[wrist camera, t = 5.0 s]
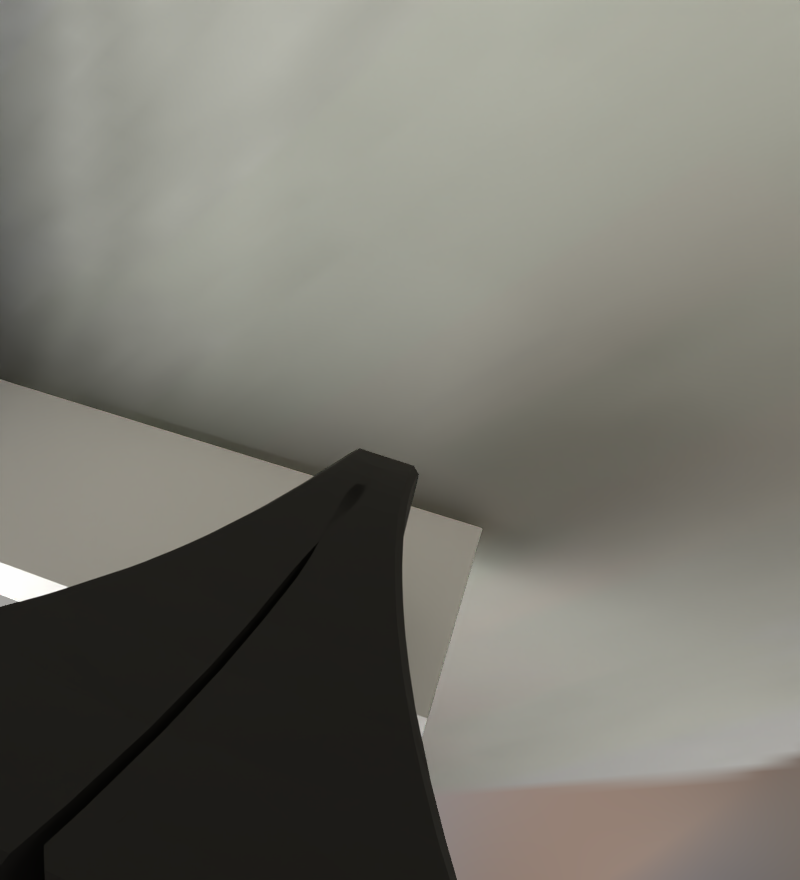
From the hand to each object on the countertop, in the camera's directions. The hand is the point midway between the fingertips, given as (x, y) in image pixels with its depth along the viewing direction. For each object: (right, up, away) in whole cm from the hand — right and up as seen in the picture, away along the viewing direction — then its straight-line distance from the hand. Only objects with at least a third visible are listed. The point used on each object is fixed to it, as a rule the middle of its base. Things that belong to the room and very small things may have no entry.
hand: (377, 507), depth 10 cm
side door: (-4, 0, +4) cm, 6 cm away
